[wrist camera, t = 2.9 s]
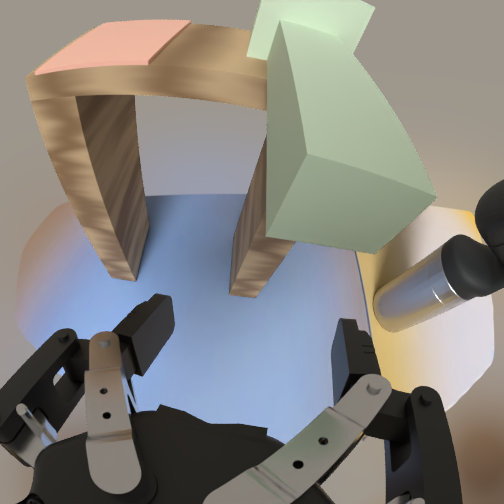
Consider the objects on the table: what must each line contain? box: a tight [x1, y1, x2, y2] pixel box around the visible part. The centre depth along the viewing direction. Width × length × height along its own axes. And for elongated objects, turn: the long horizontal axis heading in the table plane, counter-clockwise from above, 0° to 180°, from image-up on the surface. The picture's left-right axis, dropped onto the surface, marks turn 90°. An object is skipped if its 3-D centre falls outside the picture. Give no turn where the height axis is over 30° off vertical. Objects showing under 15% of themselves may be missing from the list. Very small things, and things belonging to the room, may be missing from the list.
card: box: [35, 20, 191, 75], centre depth 12 cm, size 8×10×1 cm
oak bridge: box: [25, 24, 296, 298], centre depth 27 cm, size 22×10×32 cm, turn 88°
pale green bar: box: [246, 0, 437, 254], centre depth 10 cm, size 6×20×6 cm, turn 178°
